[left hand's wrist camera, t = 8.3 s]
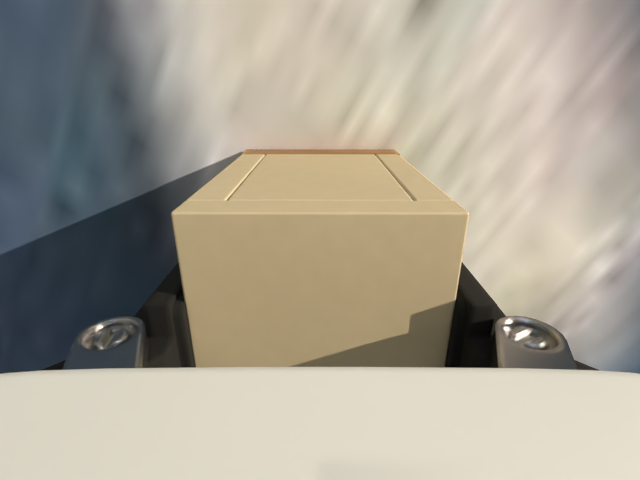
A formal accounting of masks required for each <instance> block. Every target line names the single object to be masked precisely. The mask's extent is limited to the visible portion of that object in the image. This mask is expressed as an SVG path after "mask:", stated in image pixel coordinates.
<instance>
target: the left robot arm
mask: <svg viewBox="0 0 640 480" xmlns="http://www.w3.org/2000/svg"><path fill="white" fill-rule="evenodd" d="M0 480H640V374H636V373H627V372H611V371H600V370H597V369H595V368H592V367H590V366H587V365H585V364H583V363H580V362H578V361H575V360H574V358H573V356H572V353H571V351H570V348H569V345H568V343H567V341H566V339H565V337H564V336H563V335H562V334H561V333H560V332H559V331H558V330H557V329H555V328H554V327H552V326H550V325H548V324H547V323H544V322H541V321H539V320H536V319H532V318H528V317H523V316H505V315H504V313H503V312H502V311H501V310H500V308H499V307H498V306H497V304H496V303H495V302H494V301H493V299H492V298H491V297H490V296H489V295H488V293H487V292H486V291H485V290H484V289H483V287H482V286H481V285H480V284H479V282H478V281H477V280H476V279H475V278H474V276H473V275H472V274H471V273H470V271H469V270H468V269H467V268H466V267H465V265H464V264H463V263H461V269H460V276H459V282H458V288H457V294H456V301H455V307H454V313H453V320H452V326H451V332H450V338H449V345H448V351H447V357H446V364H445V368H439V367H196V368H195V362H194V355H193V349H192V342H191V336H190V330H189V323H188V317H187V311H186V304H185V300H184V294H183V287H182V281H181V275H180V268H179V262H178V264H177V265H176V266H175V267H174V268H173V270H172V271H171V272H170V273H169V274H168V276H167V277H166V278H165V279H164V281H163V282H162V283H161V284H160V285H159V287H158V288H157V289H156V290H155V291H154V293H153V294H152V295H151V296H150V298H149V299H148V300H147V301H146V302H145V304H144V305H143V307H142V308H141V309H140V310H139V311H138V313H137V314H136V315H135V316H117V317H112V318H108V319H104V320H101V321H99V322H96V323H93V324H92V325H90V326H88V327H86V328H85V329H83V330H82V331H81V332H80V333H79V334H78V335H77V336H76V337H75V339H74V341H73V343H72V345H71V348H70V351H69V353H68V356H67V358H66V360H65V361H63V362H60V363H58V364H55V365H53V366H50V367H48V368H46V369H43V370H41V371H28V372H15V373H3V374H0Z"/></svg>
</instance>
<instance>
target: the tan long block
mask: <svg viewBox="0 0 640 480" xmlns="http://www.w3.org/2000/svg"><path fill="white" fill-rule="evenodd" d="M171 218H172V224H173V230H174V237H175V243H176V249H177V256H178V262H179V268H180V275H181V281H182V287H183V294H184V300H185V304H186V311H187V317H188V323H189V330H190V336H191V342H192V349H193V355H194V362H195V368H196V367H439V368H445V364H446V357H447V351H448V345H449V338H450V332H451V326H452V320H453V313H454V307H455V301H456V294H457V288H458V282H459V276H460V269H461V263H462V257H463V250H464V244H465V238H466V231H467V225H468V219H469V212H468V211H466V210H465V209H464V208H463V207H461V206H460V205H459V204H458V203H457V202H455V201H453V200H452V199H451V198H450V197H449V196H448V195H446V194H445V193H444V192H443V191H442V190H440V189H439V188H438V187H437V186H436V185H434V184H433V183H432V182H431V181H430V180H428V179H427V178H426V177H425V176H423V175H422V174H421V173H420V172H419V171H417V170H416V169H415V168H414V167H413V166H411V165H410V164H409V163H408V162H407V161H405V160H404V159H403V158H402V157H401V156H399V153H397V152H396V151H395V150H246V151H244V152H243V153H242V154H241V156H239V157H238V158H237V159H236V160H235V161H233V162H232V163H231V164H230V165H228V166H227V167H226V168H225V169H224V170H222V171H221V172H220V173H219V174H217V175H216V176H215V177H214V178H213V179H211V180H210V181H209V182H208V183H206V184H205V185H204V186H203V187H202V188H200V189H199V190H198V191H197V192H195V193H194V194H193V195H192V196H191V197H189V198H188V199H187V200H186V201H185V202H183V203H182V204H181V205H180V206H178V207H177V208H176V209H175V210H174V211H172V212H171Z"/></svg>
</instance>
